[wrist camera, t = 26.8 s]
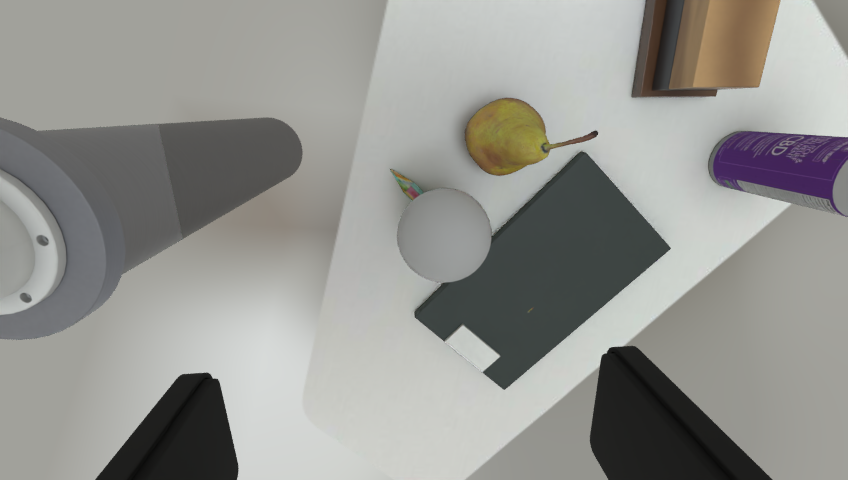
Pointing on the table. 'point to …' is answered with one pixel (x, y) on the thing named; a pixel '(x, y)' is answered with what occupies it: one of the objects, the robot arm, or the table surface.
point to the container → (785, 168)
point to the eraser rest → (655, 56)
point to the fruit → (509, 137)
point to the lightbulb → (444, 235)
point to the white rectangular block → (472, 348)
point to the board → (548, 270)
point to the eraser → (714, 44)
